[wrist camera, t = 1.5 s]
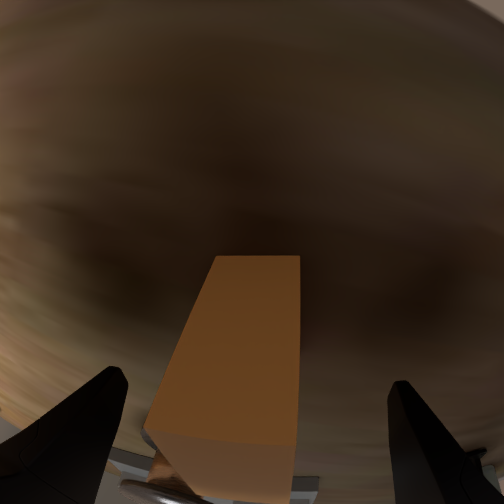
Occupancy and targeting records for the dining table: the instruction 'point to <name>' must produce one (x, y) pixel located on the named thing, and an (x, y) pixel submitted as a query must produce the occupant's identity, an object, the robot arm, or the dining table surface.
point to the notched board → (140, 467)
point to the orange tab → (235, 383)
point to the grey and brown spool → (160, 483)
